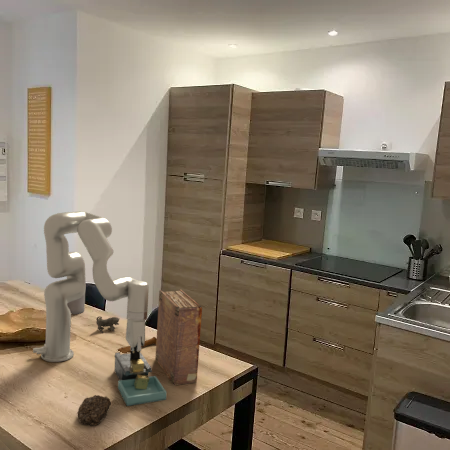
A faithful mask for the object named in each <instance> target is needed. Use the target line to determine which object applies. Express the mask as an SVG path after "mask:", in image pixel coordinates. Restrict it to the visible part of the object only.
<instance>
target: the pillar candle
mask: <svg viewBox="0 0 450 450" xmlns="http://www.w3.org/2000/svg"><path fill="white" fill-rule="evenodd" d="M85 304H86V292H85V293H84V295H83V296H82V297H81V298H79V299H77V300H74V301H71V302H68V303H67V306H68V308H69V309H70V312H71V315H78V314H82V313H84V312H85V308H86V307H85Z"/></svg>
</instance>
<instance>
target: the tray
mask: <svg viewBox="0 0 450 450" xmlns="http://www.w3.org/2000/svg"><path fill="white" fill-rule="evenodd" d="M148 377H149V382H148V385H147V389H137V388H135V386H134V383H135V379H136V378H135V379H128V380H117V389H118V392H119V393H120V396H121V397H122V400H123V401H124V403H125V406H126V407H130V406H134V405H135V406H136V405H142V404H150V403H155V402H161V401H166V400H167V390H166V388H164V386H163V384H162V383H161V382H160V380H159V378H158V377H157V376H156V375H151V376H148Z"/></svg>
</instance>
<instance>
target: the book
mask: <svg viewBox="0 0 450 450" xmlns="http://www.w3.org/2000/svg"><path fill="white" fill-rule="evenodd" d="M158 292H159V293H158V307H157V308H158V309H157V326H156V339H157V340H156V344H155V361H156V362H157V364H159V366H160V368H161V369H162V371H163V372H164V374H165V375H166V376H167V378H168V380H169V381H170V382H171V384H172V385H173V386H178V385H179V386H180V385H189V384H194V383H195V384H196V383H197V382H198V371H199V370H198V369H199V356H200V354H199V352H200V344H201V342H200V341H201V331H202V327H201V326H202V319H203V318H202V317H203V316H202V315H203V307H202V306H201V305H200V304H199V303H197V301H195V300H194V299H193V298H191V296H189V295H188V294H187V293H186V292H185V291H184V290H182V289H178V290H175V291H174V290H173V291H172V290H171V291H162V289H159V291H158Z"/></svg>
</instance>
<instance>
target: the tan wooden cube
mask: <svg viewBox="0 0 450 450" xmlns="http://www.w3.org/2000/svg"><path fill="white" fill-rule="evenodd" d="M130 368H131V370H132V372H140V371H144V362H143V361H142V359H136V360H131V361H130Z"/></svg>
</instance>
